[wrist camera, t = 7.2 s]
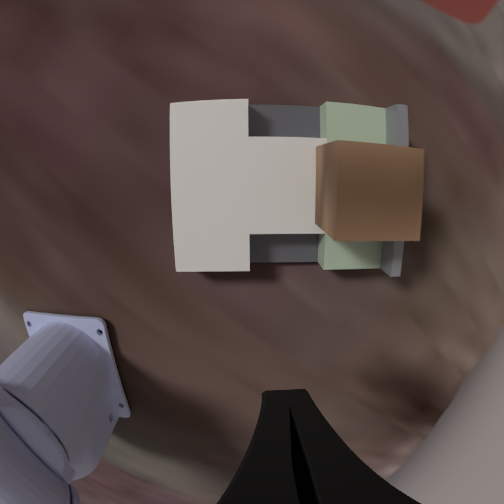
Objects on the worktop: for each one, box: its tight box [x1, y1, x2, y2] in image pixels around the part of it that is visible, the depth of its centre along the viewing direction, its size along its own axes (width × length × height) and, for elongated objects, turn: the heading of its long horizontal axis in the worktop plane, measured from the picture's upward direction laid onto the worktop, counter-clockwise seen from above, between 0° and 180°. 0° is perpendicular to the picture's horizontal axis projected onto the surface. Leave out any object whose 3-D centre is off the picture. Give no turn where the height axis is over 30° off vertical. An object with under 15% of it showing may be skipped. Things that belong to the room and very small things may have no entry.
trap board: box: [170, 99, 409, 277], centre depth 16 cm, size 9×12×4 cm
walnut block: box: [315, 140, 424, 241], centre depth 13 cm, size 4×4×4 cm
